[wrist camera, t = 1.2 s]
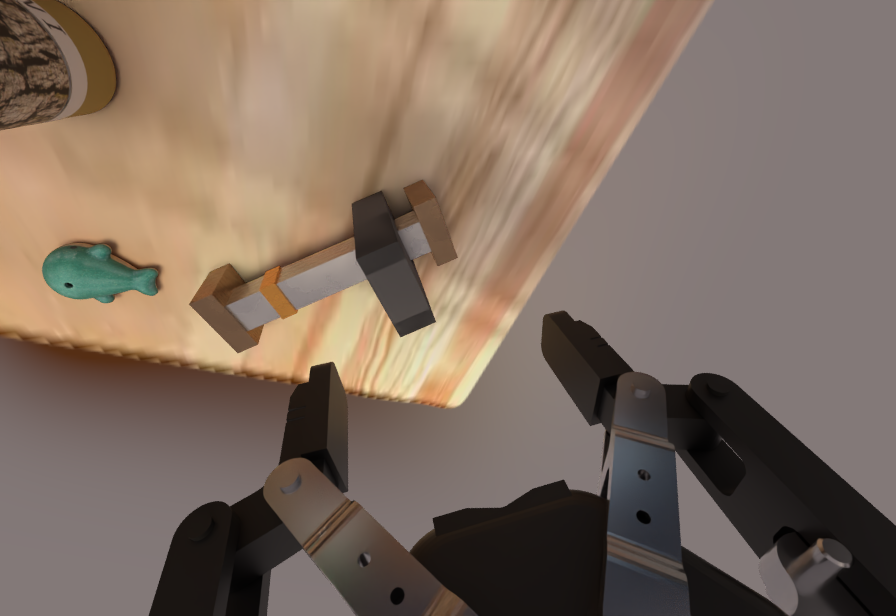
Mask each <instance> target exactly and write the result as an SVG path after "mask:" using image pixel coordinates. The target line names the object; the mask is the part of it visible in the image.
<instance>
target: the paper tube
mask: <svg viewBox="0 0 896 616" xmlns="http://www.w3.org/2000/svg"><path fill="white" fill-rule="evenodd" d="M115 87H116V74H115V69H114V65H113V62H112V59H111V57H110V55H109V52H108V50H107V49H106V47H105V45H104V44H103V42H102V41H101V39H100V38H99V36H98V35H97V34H96V33H95V31H94V30H93V29H92V28H91V27H90V26H89V25H88V24H87V23H86V22H85V21H84V20H83V19H82V18H81V17H80V16H78V15H77V14H76V13H75V12H73V11H72V10H71V9H69V8H68V7H66V6H65V5H63V4H61V3H60V2H58V1H56V0H0V130H5V129H10V128H16V127H21V126H27V125H32V124H38V123H43V122H49V121H54V120H60V119H63V118H69V117H74V116H80V115H85V114H90V113H93V112H96V111H98V110H100V109H102V108H103V107H105V106H106V105H107V104H108V103H109V101H110V100H111V98H112V97H113V94H114V92H115Z"/></svg>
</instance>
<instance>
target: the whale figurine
mask: <svg viewBox="0 0 896 616" xmlns="http://www.w3.org/2000/svg"><path fill="white" fill-rule="evenodd" d="M111 252H112V249H111V247H110V246H109V245H107V244H97V245H94V246H93V245H90V244H86V243H71V244H67V245H63V246H61V247H59V248H57V249H55V250H54V251H52V252H51V253H50V254H49V255H48V256H47V257H46V259H45V261H44V263H43V267H42V272H43V277H44V279H45V281H46V283H47V284H48V285H49V286H50V287H51V288H52V289H53V290H54V291H56V292H57V293H59V294H61V295H63V296H65V297H68V298H72V299H89V298H95V299H96V300H98V301H100V302H102V303H110V302H113V301H114V299H115V296H114V294H117V293H121V292H125V291H129V290H137V291H139V292H141V293H143V294H146V295H149V296H153V295H155V294H157V293H158V288H157V286H156V282H155V281H156V277H157V275H158V271H157V270H156V269H154V268H144V269H136V268H135V267H133V266H132V265H130V264H128V263H127V262H125V261H123V260H122V259H120V258H118V257H116V256H114V255H112V254H111Z"/></svg>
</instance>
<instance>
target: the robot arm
mask: <svg viewBox="0 0 896 616" xmlns="http://www.w3.org/2000/svg"><path fill="white" fill-rule="evenodd" d="M541 348H542V353H543V356H544V358H545V360H546V361H547V363H548V364H549V366H550V367H551V369H552V370H553V372H554V373H555V375H556V376H557V378H558V379H559V381H560V382H561V384H562V385H563V387H564V388H565V390H566V391H567V393H568V394H569V395H570V397H571V398H572V400H573V401H574V403H575V404H576V406H577V407H578V409H579V410H580V412H581V413H582V415H583V416H584V418H585V419H586V420H587V422H588V423H589V425H590V426H592V425H595V424H599V423H602V425H603V426H604V427H605V432H604V439H603V448H602V458H601V467H600V476H599V483H598V488H597V494H596V495H595V494H592V493H589V492H585V491H580V490H569V489H568V487H567V485H566V483H565V481H564V480H561V481H558V482H554V483H551V484H547V485H544V486H541V487H537V488H534V489H532V490H530V491H529V492H527V493H525V494H524V495H522V496H521V497H519V498H518V499H516V500H515V501H513V502H512V503H510V504H508V505H507V506H505V507H502V508H466V509H462V510H459V511H455V512H452V513H449V514H445V515H442V516H439V517H435V518H433V523H434V528H435V529H433V530H432V531H430V532H428V533H427V534H426V535H425V536H423V537H422V538H421V539H420V540H419V541H418V542H417V543H416V544H415V545H414V546H413V548H412V549H411V550H410V552H408V551H407V550H406V549H405V548H404V547H403V546H402V545H401V544H400V543H399V542H398V541H397V540H396V539H395V538H394V537H393V536H392V535H391V534H390V533H389V532H388V531H387V530H386V529H385V528H384V527H383V526H382V525H381V524H379V523H378V522H377V521H376V520H375V519H374V518H373V517H372V516H371V515H370V514H369V513H368V512H367V511H366V510H365V509H364V508H363V507H362V506H361V505H360V504H359V503H357V502H356V501H350V500H349V499H348V498H347V497H346V496H345V495H344V494H343V493H344V492H347V491H348V406H347V398H346V394H345V390H344V388H343V385H342V382H341V380H340V377H339V375H338V372H337V369H336V367H335V364H334V363H333V362H329V363H325V364H320V365H316V366H312V367H311V369H310V376H309V382H307V383H302V384H298V386H297V387H296V389H295V391H294V392H293V394H292V395H291V397H290V403H289V408H288V411H289V412H288V414H287V423H286V426H285V432H284V438H283V444H282V450H281V456H280V462H279V465H278V466H277V467H276V468H275V469H274V470H273V471H272V472H271V473H270V475H269V476H268V478H267V480H266V482H265V484H264V486H263V487H262V488H261V489H259V490H258V491H256V492H255V493H253V494H251V495H250V496H248V497H246V498H244V499H242V500H241V501H239V502H237V503H235V504H234V505H232V506H230V507H229V506H228V505H227V504H226V503H224V502H219V501H215V502H210V503H207V504H205V505H202V506H200V507H199V508H197V509H196V510H194V511H193V512H192V513H190V514H189V515H188V516H187V517H186V518H185V519H184V520H183V521H182V523H181V524H180V525H179V527H178V528H177V530H176V532H175V534H174V536H173V539H172V542H171V545H170V549H169V552H168V555H167V559H166V561H165V565H164V568H163V571H162V574H161V578H160V581H159V584H158V587H157V590H156V594H155V597H154V600H153V604H152V607H151V610H150V613H149V616H267V607H268V596H269V586H270V575H271V569H272V568H274V567H276V566H277V565H278V564H280V563H282V562H283V561H285V560H286V559H288V558H289V557H291V556H292V555H294V554H295V553H297V552H298V551H300V550H301V549H303V550H304V551H305V552H306V553H307V555H308V556H309V557H310V558H311V560H312V561H313V562H314V563H315V564H316V566H317V567H318V568H319V570H320V571H321V572H322V573H323V575H324V576H325V577H326V578H327V580H328V581H329V582H330V584H331V585H332V586H333V587H334V589H336V591H337V592H338V594H339V595H340V596H341V598H342V599H343V600H344V601H345V603H346V604H347V605H348V606H349V608H350V609H351V610H352V611H353V613H354V614H355V615H356V616H896V526H895V525H894V524H893V523H892V522H891V521H890V520H889V519H888V518H886V517H885V516H884V515H883V514H882V513H881V512H880V511H879V510H877V509H876V508H875V507H874V506H873V505H872V504H871V503H869V502H868V501H867V500H866V499H865V498H864V497H863V496H862V495H861V494H859V493H858V492H857V491H856V490H855V489H853V487H851V486H850V485H849V484H848V483H847V482H846V481H845V480H844V479H842V478H841V477H840V476H839V475H838V474H837V473H836V472H835V471H833V470H832V469H831V468H830V467H829V466H828V465H827V464H826V463H824V462H823V461H822V460H821V459H820V458H819V457H818V456H816V455H815V454H814V453H813V452H812V451H811V450H810V449H808V447H806V446H805V445H804V444H803V443H802V442H801V441H800V440H798V439H797V438H796V437H795V436H794V435H793V434H791V433H790V432H789V431H788V430H787V429H786V428H785V427H784V426H783V425H782V424H780V423H779V422H778V421H777V420H776V419H775V418H774V417H773V416H771V415H770V414H769V413H768V412H767V411H766V410H765V409H764V408H762V407H761V406H760V405H759V404H758V403H757V402H756V401H754V400H753V399H752V398H751V397H750V396H749V395H748V394H746V392H744V391H743V390H742V389H741V388H740V387H739V386H738V385H736V384H735V383H734V382H732V381H731V380H729V379H727V378H725V377H723V376H720V375H717V374H712V373H701V374H697V375H695V376H694V377H693V378H692V379H691V381H690V384H689V385H667V384H661V383H660V382H659V381H658V380H657V379H655V378H654V377H652V376H650V375H648V374H644V373H641V372H634V371H633V370H632V369H631V367H630V366H629V365H628V364H627V363H626V362H625V361H624V360H623V359H622V358H621V357H620V356H619V355H618V354H617V353H616V352H615V351H614V349H613V348H612V347H611V346H610V345H608V343H607V342H606V341H605V340H604V339H603V338H601V336H600V335H599V333H598V332H597V331H596V330H595V329H594V328H593V327H592V326H590V325H588V324H586V323H584V322H582V321H580V320H579V321H574V320H573V319H572V318H571V316H569V314H568V313H567V312H565V311H559V312H554V313H550V314H546V315H544V317H543V327H542V342H541ZM722 438H723V439H724V441H725V442H726V443H727V444H728V445H729V446H730V447H731V448H732V449H733V450H734V451H735V452H736V453H737V455H738V456H739V457H740V458H741V459H742V460H741V459H740V458H739V457H738V456H737V455H736V454H735V453H734V452H733V450H732V449H731V448H730V447H729V446H728V445H727V444H726V443H725V442H724V441H723V440H722ZM675 451H676V452H677V453H678V454H679V456H680V457H681V458H682V460H683V461H684V462H685V463H686V465H687V466H688V467H689V469H690V470H691V471H692V472H693V474H694V475H695V476H696V478H697V479H698V480H699V482H700V483H701V484H702V485H703V487H704V488H705V489H706V491H707V492H708V493H709V494H710V496H711V497H712V498H713V499H714V501H715V502H716V503H717V504H718V506H719V507H720V509H721V510H722V511H723V512H724V514H725V515H726V516H727V517H728V519H729V520H730V521H731V523H732V524H733V525H734V527H735V528H736V529H737V530H738V532H739V533H740V534H741V536H742V537H743V538H744V539H745V541H746V542H747V543H748V545H749V546H750V547H751V548H752V550H753V551H754V552H755V554H756V555H757V556H758V557H759V559H760V562H759V572H760V575H761V578H762V580H763V582H764V584H765V586H766V592H767V595H768V596H769V598H770V599H771V601H772V602H773V603H772V602H771V601H769V600H768V599H767V598H765V597H763V596H762V595H760V594H759V593H757V592H755V591H754V590H752V589H750V588H749V587H747V586H746V585H744V584H743V583H741V582H739V581H738V580H736V579H734V578H733V577H731V576H730V575H728V574H726V573H725V572H723V571H721V570H720V569H718V568H717V567H715V566H713V565H712V564H710V563H709V562H707V561H705V560H704V559H702V558H701V557H699V556H697V555H696V554H694V553H692V552H691V551H689V550H688V549H686V548H684V547H683V546H681V537H680V522H679V508H678V507H679V506H678V492H677V491H678V490H677V474H676V458H675Z"/></svg>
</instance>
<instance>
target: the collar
mask: <svg viewBox="0 0 896 616" xmlns="http://www.w3.org/2000/svg"><path fill="white" fill-rule="evenodd" d="M352 213H353V227H354V240H355V253H356V260H357V262H358V264H359V266H360V267H361V269H362V271H363V273H364V274H365V276H366V278H367V280H368V281H369V283H370V285H371V287H372V288H373V290H374V292H375V293H376V295H377V297H378V299H379V300H380V302H381V304H382V306H383V307H384V309H385V311H386V313H387V314H388V316H389V318H390V320H391V321H392V323H393V325H394V327H395V328H396V330H397V332H398V334H399V335H400V337H403V336H405V335H407V334H409V333H412V332H414V331H416V330H419V329H421V328H423V327H425V326H428V325H430V324H432V323H435V322H436V321H435V318H434V316H433V313H432V310H431V307H430V305H429V302H428V299H427V297H426V294H425V291H424V289H423V286H422V283H421V281H420V278H419V275H418V272H417V270H416V267H415V264H414V262H413V260H410V257H409V255H408V253H407V251H406V249H405V247H404V245H403V242H402V240H401V238H400V236H399V234H398V232H397V229H396V227H395V225H394V222H393V219H394V217H393V215H392V213H391V211H390V209H389V206H388V204H387V202H386V200H385V198H384V195H383V193H382V191H380V192H378V193H376V194H373V195H371V196H369V197H367V198H364V199H362V200H360V201H357V202H355V203H353V204H352Z"/></svg>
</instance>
